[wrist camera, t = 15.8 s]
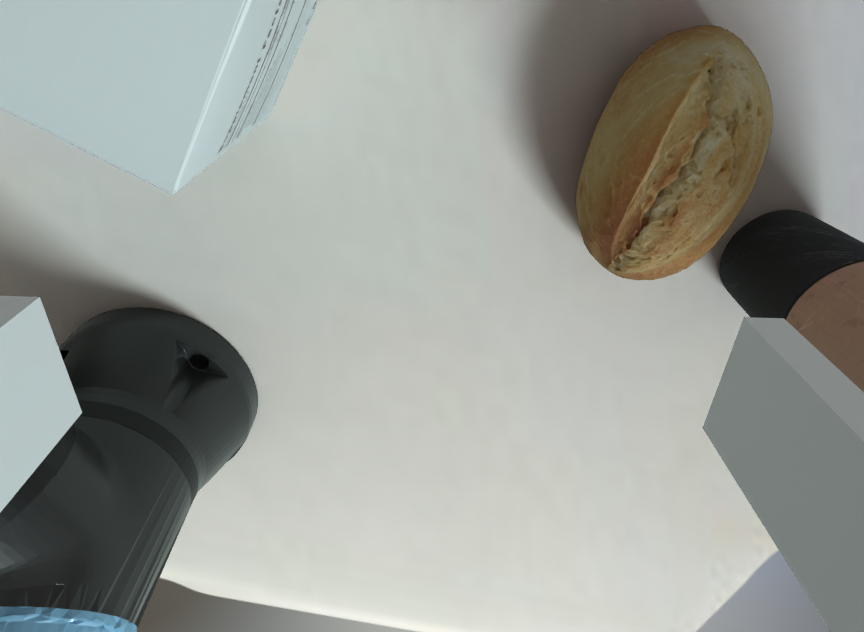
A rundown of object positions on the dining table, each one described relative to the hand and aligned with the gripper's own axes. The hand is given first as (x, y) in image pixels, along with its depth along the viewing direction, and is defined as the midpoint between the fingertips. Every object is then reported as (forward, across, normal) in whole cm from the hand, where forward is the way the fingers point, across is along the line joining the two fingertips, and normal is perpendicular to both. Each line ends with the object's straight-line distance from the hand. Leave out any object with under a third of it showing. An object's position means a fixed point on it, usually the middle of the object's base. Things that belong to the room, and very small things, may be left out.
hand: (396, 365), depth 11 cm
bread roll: (+27, +14, -2) cm, 31 cm away
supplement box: (+27, -11, +5) cm, 30 cm away
